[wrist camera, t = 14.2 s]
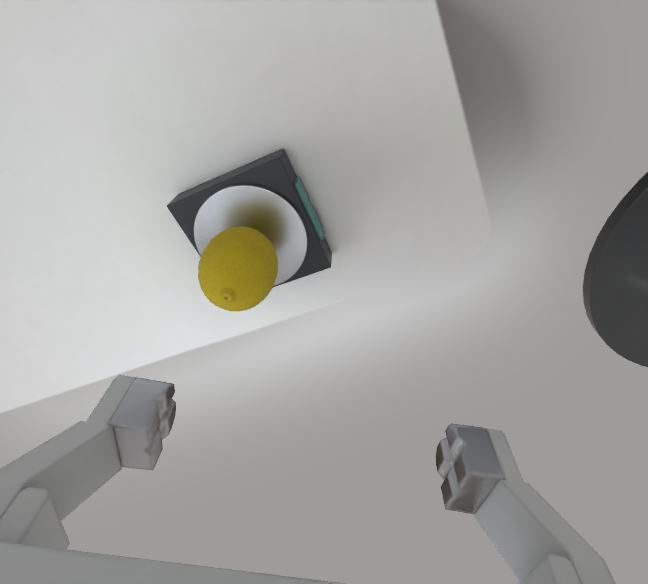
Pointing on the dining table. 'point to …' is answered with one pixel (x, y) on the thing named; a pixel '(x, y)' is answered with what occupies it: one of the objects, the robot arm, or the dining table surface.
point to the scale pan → (256, 222)
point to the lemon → (238, 268)
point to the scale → (275, 176)
